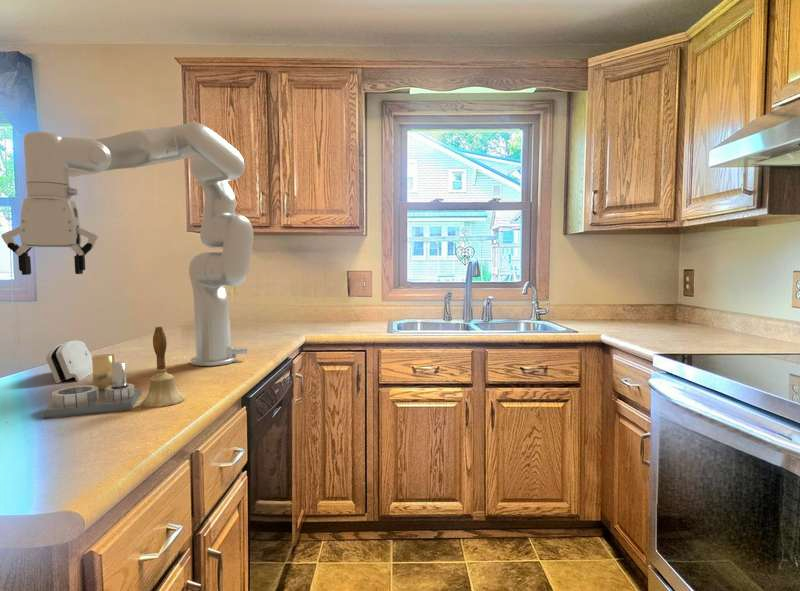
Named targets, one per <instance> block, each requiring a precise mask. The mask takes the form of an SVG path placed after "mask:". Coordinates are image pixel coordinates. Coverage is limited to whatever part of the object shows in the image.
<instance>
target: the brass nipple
mask: <svg viewBox="0 0 800 591" xmlns="http://www.w3.org/2000/svg"><path fill="white" fill-rule="evenodd" d="M91 356H92V368H93V373H92V382H93V385H92V386H97V387H98V390H99V391H105V388H106V387H108V386H112V370H111V364H112V363H115V354H112V353H103V354H96V355H91Z"/></svg>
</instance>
